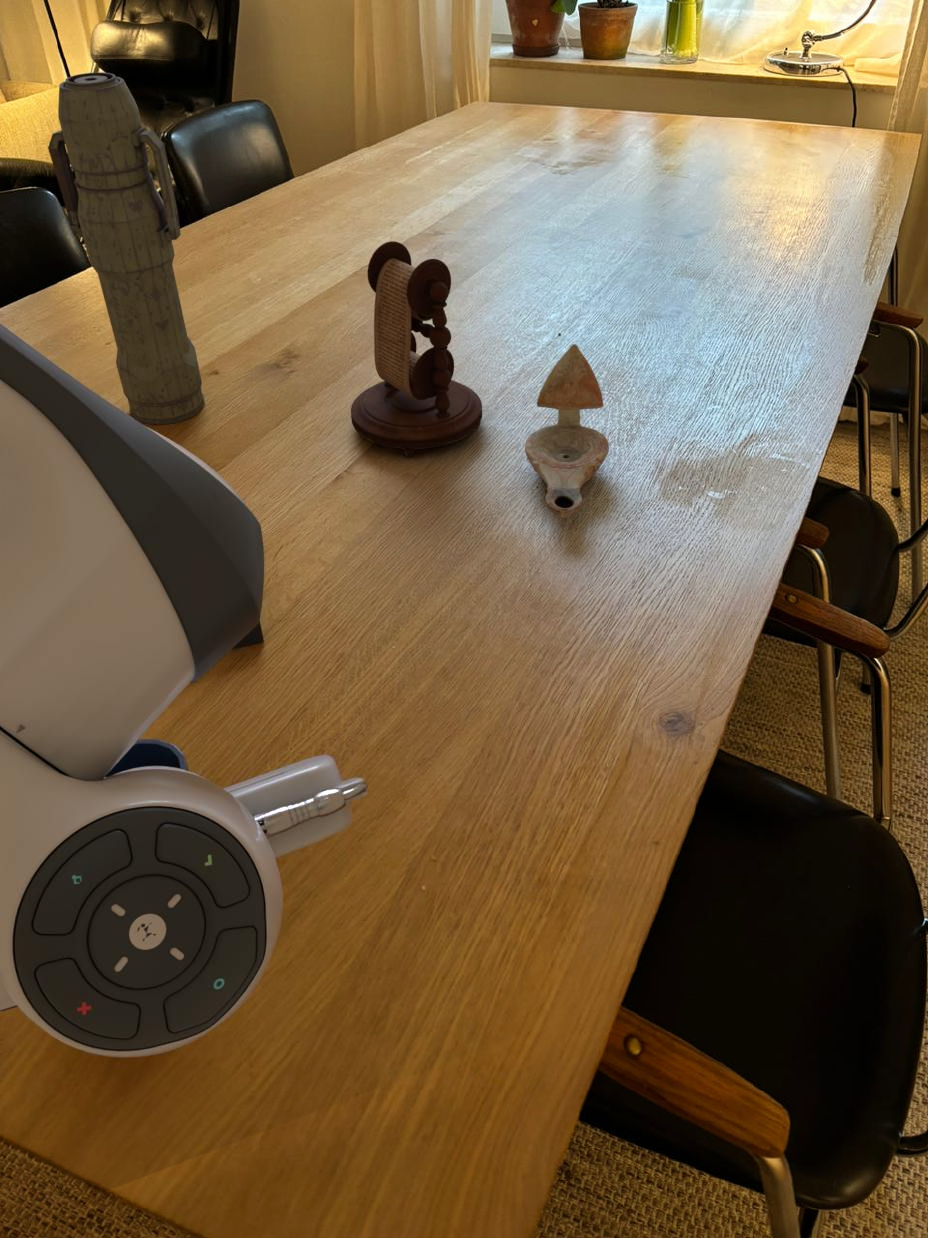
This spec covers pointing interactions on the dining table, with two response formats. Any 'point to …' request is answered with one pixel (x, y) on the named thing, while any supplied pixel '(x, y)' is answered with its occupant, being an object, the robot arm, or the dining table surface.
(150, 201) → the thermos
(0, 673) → the robot arm
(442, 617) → the dining table surface
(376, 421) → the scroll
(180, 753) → the cup
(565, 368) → the oil lamp
